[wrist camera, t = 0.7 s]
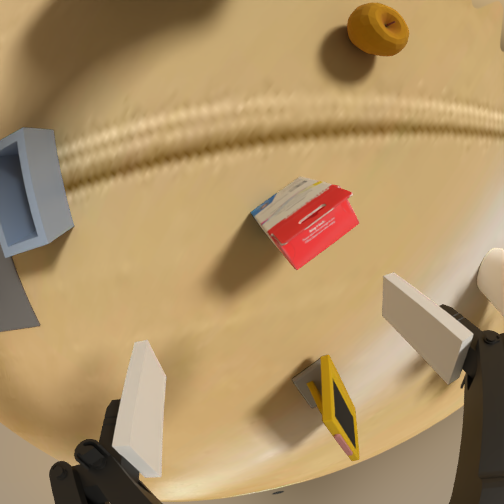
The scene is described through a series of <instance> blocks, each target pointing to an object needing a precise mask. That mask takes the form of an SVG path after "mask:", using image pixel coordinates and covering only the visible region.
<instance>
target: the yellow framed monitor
mask: <svg viewBox="0 0 504 504" xmlns="http://www.w3.org/2000/svg"><path fill="white" fill-rule="evenodd" d="M292 381H293V383H294V384H295V386H296V387H297V388H298V390H299V391H300V393H301V394H302V396H303V397H304V398H305V400H306V401H307V402H308V404H309V405H310V407H311V408H314V407H318V409H319V411H320V413H321V414H322V421H323V423H324V424H325V426H326V427H327V428H328V430H329V431H330V432H331V434H332V435H333V437H334V438H335V440H336V441H337V442H338V444H339V445H340V446H341V448H342V449H343V450H344V452H345V453H346V454H347V455H348V457H349V458H350V459H351V460H352V461H355V460H359V446H358V433H357V422H356V412H355V407H354V405H353V403H352V401H351V399H350V397H349V395H348V392H347V390H346V388H345V386H344V384H343V382H342V380H341V378H340V376H339V374H338V372H337V370H336V368H335V366H334V364H333V362H332V360H331V358H330V356H329V355H325V356H321V358H320V359H319V360H317V361H316V362H315V363H313V364H312V365H311V366H309V367H308V368H307V369H305V370H304V371H303V372H301V373H300V374H298V375H297V376H296V377H294V378H293V379H292Z"/></svg>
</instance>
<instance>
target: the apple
mask: <svg viewBox="0 0 504 504" xmlns="http://www.w3.org/2000/svg"><path fill="white" fill-rule="evenodd" d="M347 30H348V35H349V39H350V40H351V42H352V43H353V44H354V45H355V46H356V47H358V48H359V49H361V50H362V51H364V52H366V53H368V54H373V55H379V56H393V55H395V54H397V53H399V52H400V51H401V50H402V49H403V48H404V47H405V46H406V44H407V42H408V37H409V30H408V27H407V25H406V23H405V21H404V19H403V18H402V17H401V15H400V14H399V13H398V12H397V11H396V10H394V9H393V8H391V7H388V6H386V5H383V4H380V3H368V4H364V5H361V6H359V7H357V8H356V9H355V10H354V11H353V13H352V14H351V15H350V17H349V19H348V24H347Z"/></svg>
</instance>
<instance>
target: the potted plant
mask: <svg viewBox="0 0 504 504" xmlns="http://www.w3.org/2000/svg"><path fill="white" fill-rule="evenodd" d="M477 286H478V288H479V290H480V291H481V292H482V293H483V294H484V295H485V296H486V297H487V299H488V300H489V301H490V302H491V303H492V304H493V305H494V306H495V308H496V309H497V310H498V311H499V312H500V313H501V315H502V316H503V317H504V249H501V248H492V249H491V250H490V251H489V252H488V253H487V254H486V255H485V257H484V259H483V261H482V263H481V265H480V268H479V272H478V276H477Z"/></svg>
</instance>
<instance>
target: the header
mask: <svg viewBox="0 0 504 504" xmlns="http://www.w3.org/2000/svg"><path fill="white" fill-rule="evenodd" d="M35 326H40V323H39V321H38V319H37V317H36V315H35V313H34V311H33V309H32V307H31V305H30V302H29V300H28V298H27V296H26V293H25V291H24V289H23V286H22V284H21V281H20V279H19V276H18V274H17V271H16V268H15V266H14V263H13V260H12V257H11V256H10V257H7V258H5V256H4V253H3V250H2V247H1V244H0V332H1V331H8V330H15V329H22V328H29V327H35Z"/></svg>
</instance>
